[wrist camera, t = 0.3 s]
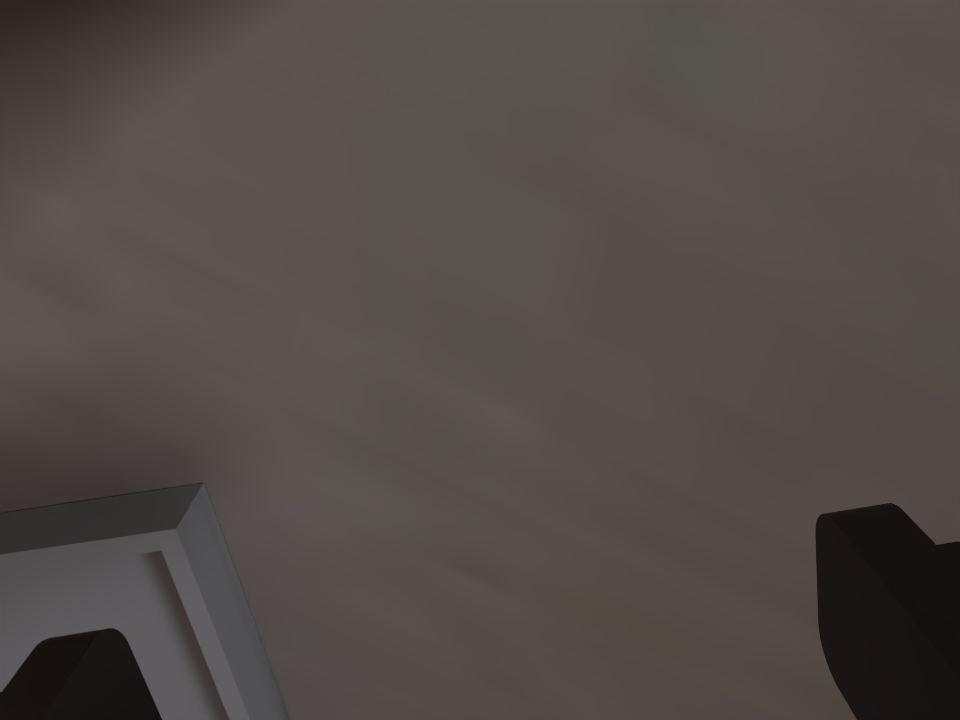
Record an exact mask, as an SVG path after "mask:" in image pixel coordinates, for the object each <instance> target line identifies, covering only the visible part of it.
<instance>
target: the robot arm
mask: <svg viewBox="0 0 960 720" xmlns="http://www.w3.org/2000/svg"><path fill="white" fill-rule="evenodd" d="M816 563H817V594H818V623H819V633H820V639H821V643H822V647H823V651H824V655H825V658H826V661H827V664H828V667H829V669H830V672H831V674H832V676H833V678H834V681H835V683H836V684H837V686H838V688H839V690H840V692H841V693H842V695H843V697H844V698H845V700H846V702H847V703H848V705H849V707H850V709H851V710H852V712H853V714H854V715H855V717H856V719H857V720H960V542H952V543H946V544H940V545H936V544H935V543H934V542H933V541H932V540H931V539H930V538H929V537H928V536H927V535H926V534H925V533H924V532H923V531H922V530H921V529H920V528H919V527H918V526H917V525H916V524H915V523H914V521H913V520H912V519H911V518H910V517H909V516H908V515H907V514H906V513H905V512H904V511H903V510H902V509H901V508H900V507H898V506H897V505H895V504H892V503H887V504H881V505H875V506H869V507H863V508H856V509H850V510H844V511H838V512H832V513H826V514H821V515H820V516H819V517H818V519H817V523H816ZM0 720H162V718H161V716H160V713H159V711H158V709H157V707H156V704H155V702H154V700H153V698H152V695H151V693H150V691H149V688H148V686H147V684H146V682H145V679H144V677H143V675H142V673H141V670H140V668H139V666H138V663H137V661H136V659H135V657H134V654H133V652H132V650H131V648H130V645H129V643H128V641H127V639H126V638H125V636H124V635H123V634H122V633H121V632H120V631H119V630H116V629H113V628H108V629H102V630H96V631H89V632H83V633H77V634H71V635H65V636H59V637H53V638H47V639H45V640H43V641H41V642H40V643H39V644H38V645H37V646H36V647H35V648H34V649H33V650H32V652H31V653H30V655H29V656H28V657H27V659H26V660H25V661H24V663H23V664H22V665H21V667H20V668H19V669H18V671H17V672H16V673H15V675H14V676H13V677H12V679H11V680H10V682H9V683H8V684H7V686H6V687H5V688H4V690H3V691H2V692H0Z"/></svg>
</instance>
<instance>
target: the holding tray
mask: <svg viewBox="0 0 960 720" xmlns="http://www.w3.org/2000/svg"><path fill="white" fill-rule="evenodd" d="M108 628H113V629H116V630H119V631H120V632H121V633H122V634H123V635H124V636H125V638H126V639H127V641H128V643H129V645H130V648H131V650H132V652H133V654H134V657H135V659H136V661H137V663H138V666H139V668H140V670H141V673H142V675H143V677H144V679H145V682H146V684H147V686H148V688H149V691H150V693H151V695H152V698H153V700H154V702H155V704H156V707H157V709H158V711H159V713H160V716H161V718H162V720H289V718H288V715H287V712H286V709H285V707H284V704H283V701H282V698H281V695H280V693H279V690H278V687H277V684H276V682H275V679H274V676H273V673H272V671H271V668H270V665H269V662H268V659H267V657H266V654H265V651H264V648H263V646H262V643H261V640H260V637H259V635H258V632H257V629H256V626H255V623H254V621H253V618H252V615H251V612H250V610H249V607H248V604H247V601H246V599H245V596H244V593H243V590H242V588H241V585H240V582H239V579H238V576H237V574H236V571H235V568H234V565H233V563H232V560H231V557H230V554H229V552H228V549H227V546H226V543H225V540H224V538H223V535H222V532H221V529H220V527H219V524H218V521H217V518H216V516H215V513H214V510H213V507H212V504H211V502H210V499H209V496H208V493H207V491H206V488H205V485H204V483H199V484H192V485H186V486H179V487H172V488H166V489H159V490H152V491H146V492H139V493H132V494H126V495H119V496H112V497H106V498H99V499H92V500H86V501H79V502H72V503H66V504H59V505H52V506H46V507H39V508H32V509H26V510H19V511H12V512H6V513H0V692H2V691H3V690H4V688H5V687H6V686H7V684H8V683H9V682H10V680H11V679H12V677H13V676H14V675H15V673H16V672H17V671H18V669H19V668H20V667H21V665H22V664H23V663H24V661H25V660H26V659H27V657H28V656H29V655H30V653H31V652H32V650H33V649H34V648H35V647H36V646H37V645H38V644H39V643H40V642H41V641H43V640H45V639H47V638H53V637H59V636H65V635H71V634H77V633H83V632H89V631H96V630H102V629H108Z"/></svg>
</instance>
